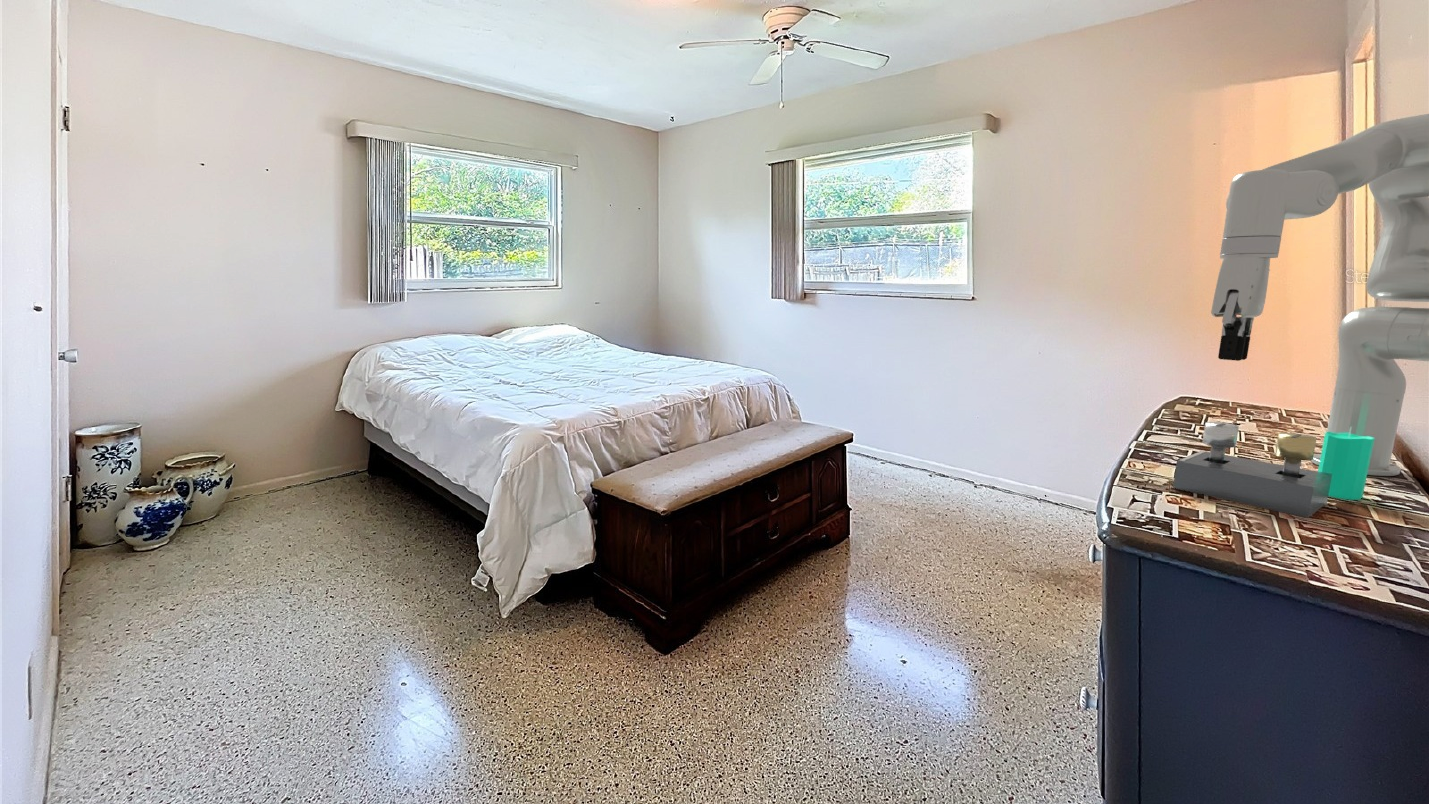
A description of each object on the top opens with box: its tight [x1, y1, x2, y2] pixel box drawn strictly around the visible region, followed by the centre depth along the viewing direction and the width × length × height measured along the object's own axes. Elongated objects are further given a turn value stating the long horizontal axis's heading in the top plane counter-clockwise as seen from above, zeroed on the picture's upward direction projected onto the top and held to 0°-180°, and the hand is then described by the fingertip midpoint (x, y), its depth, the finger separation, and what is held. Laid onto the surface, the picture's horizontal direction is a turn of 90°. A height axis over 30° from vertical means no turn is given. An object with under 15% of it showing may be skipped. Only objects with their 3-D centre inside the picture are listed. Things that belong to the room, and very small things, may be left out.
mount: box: [1172, 450, 1332, 519], centre depth 109 cm, size 12×18×5 cm, turn 36°
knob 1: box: [1202, 421, 1240, 464], centre depth 112 cm, size 5×5×8 cm
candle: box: [1318, 427, 1374, 501], centre depth 109 cm, size 6×6×12 cm
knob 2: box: [1274, 432, 1317, 478], centre depth 104 cm, size 5×5×8 cm
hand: (1232, 358), depth 109 cm, fingers closed
